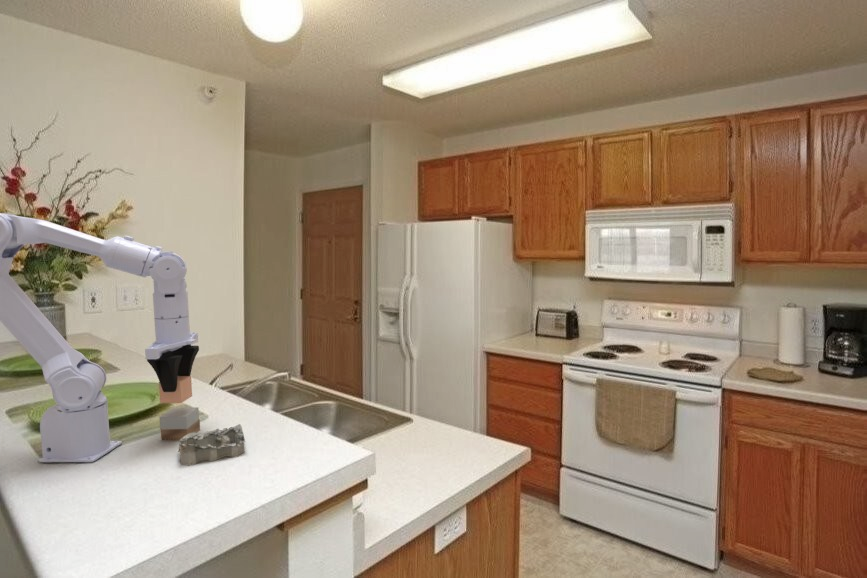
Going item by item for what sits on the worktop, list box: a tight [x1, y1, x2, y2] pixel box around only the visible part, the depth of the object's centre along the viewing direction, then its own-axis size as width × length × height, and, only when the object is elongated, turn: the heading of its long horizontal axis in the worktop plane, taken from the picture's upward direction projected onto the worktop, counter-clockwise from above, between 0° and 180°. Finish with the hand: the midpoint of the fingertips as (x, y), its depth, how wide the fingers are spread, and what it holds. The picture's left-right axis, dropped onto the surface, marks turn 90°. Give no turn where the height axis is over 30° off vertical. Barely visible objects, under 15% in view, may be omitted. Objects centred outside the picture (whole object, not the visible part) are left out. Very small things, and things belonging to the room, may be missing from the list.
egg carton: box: [178, 423, 246, 466], centre depth 87 cm, size 11×8×4 cm
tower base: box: [160, 419, 201, 441], centre depth 95 cm, size 5×5×2 cm
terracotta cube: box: [158, 375, 193, 404], centre depth 92 cm, size 4×4×4 cm
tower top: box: [159, 406, 200, 431], centre depth 95 cm, size 5×5×2 cm
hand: (176, 387), depth 92 cm, fingers closed on terracotta cube, 4 cm apart
